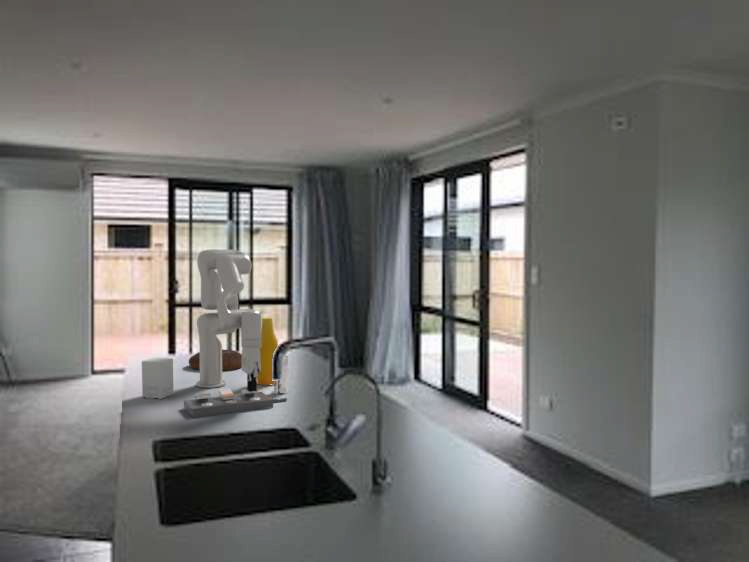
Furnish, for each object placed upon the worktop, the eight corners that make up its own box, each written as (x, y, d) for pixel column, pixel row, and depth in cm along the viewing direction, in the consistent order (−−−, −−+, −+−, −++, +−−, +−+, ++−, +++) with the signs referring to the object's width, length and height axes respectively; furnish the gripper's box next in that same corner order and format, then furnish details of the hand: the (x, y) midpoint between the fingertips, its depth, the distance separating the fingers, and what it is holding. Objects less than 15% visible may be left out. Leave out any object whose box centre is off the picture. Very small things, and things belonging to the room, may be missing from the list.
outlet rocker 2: (241, 392, 244) (241, 389, 245) (252, 391, 247) (252, 388, 247) (246, 393, 238) (246, 390, 238) (257, 392, 240) (257, 388, 241)
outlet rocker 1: (218, 391, 240) (218, 388, 240) (229, 390, 242) (229, 387, 242) (223, 399, 234) (223, 396, 234) (234, 398, 236) (235, 395, 236)
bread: (184, 364, 323) (184, 347, 323) (237, 360, 335) (237, 344, 334) (194, 374, 297) (194, 356, 297) (251, 369, 309) (250, 352, 309)
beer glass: (285, 394, 257) (285, 358, 256) (269, 393, 258) (269, 357, 257) (291, 391, 264) (291, 355, 263) (275, 390, 265) (275, 355, 264)
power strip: (184, 408, 235) (183, 398, 234) (280, 397, 253) (280, 387, 253) (192, 417, 222) (192, 406, 222) (293, 404, 241) (293, 395, 241)
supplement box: (174, 394, 257) (174, 358, 256) (161, 399, 248) (160, 362, 247) (155, 392, 259) (154, 357, 258) (141, 397, 250) (141, 360, 250)
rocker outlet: (194, 398, 236) (194, 395, 236) (206, 397, 238) (206, 393, 238) (198, 398, 230) (198, 394, 230) (210, 396, 232) (210, 393, 232)
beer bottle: (280, 384, 275) (280, 319, 274) (259, 386, 272) (259, 319, 270) (275, 380, 284) (275, 316, 282) (255, 382, 281) (254, 317, 279)
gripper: (236, 341, 244) (236, 388, 244) (247, 346, 231) (248, 395, 231) (254, 340, 247) (255, 386, 248) (267, 344, 234) (268, 393, 235)
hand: (252, 390), depth 240 cm, fingers closed
